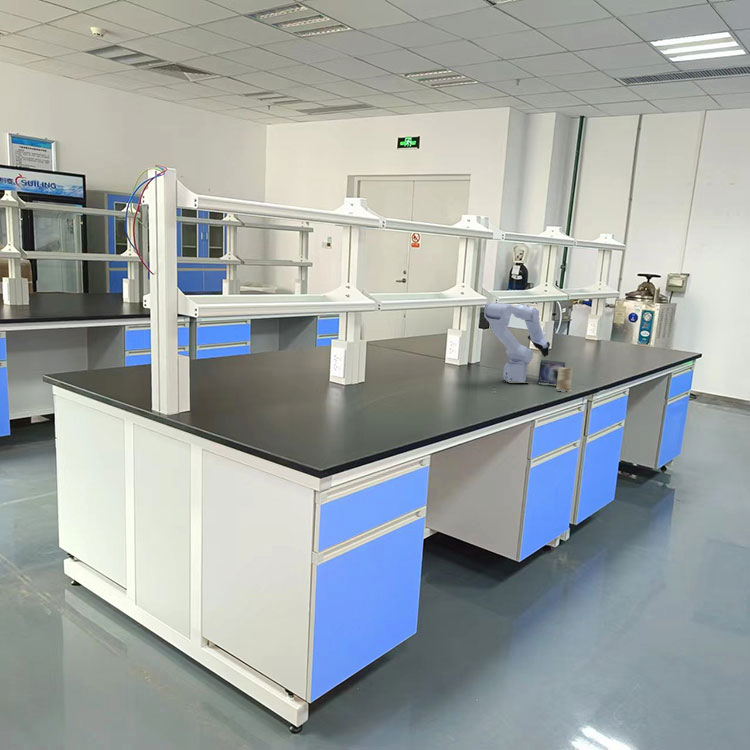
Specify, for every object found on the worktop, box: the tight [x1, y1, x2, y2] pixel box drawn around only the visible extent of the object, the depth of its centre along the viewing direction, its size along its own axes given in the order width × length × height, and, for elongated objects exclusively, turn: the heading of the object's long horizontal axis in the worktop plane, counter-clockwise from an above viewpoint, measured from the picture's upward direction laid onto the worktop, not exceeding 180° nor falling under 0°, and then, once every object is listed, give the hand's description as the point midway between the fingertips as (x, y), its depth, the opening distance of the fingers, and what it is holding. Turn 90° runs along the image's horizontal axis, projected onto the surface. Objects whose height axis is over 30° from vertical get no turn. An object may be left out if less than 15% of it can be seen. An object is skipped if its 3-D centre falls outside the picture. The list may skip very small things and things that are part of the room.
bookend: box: [555, 367, 574, 392], centre depth 274 cm, size 6×3×10 cm, turn 103°
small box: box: [537, 359, 566, 385], centre depth 287 cm, size 11×6×10 cm, turn 73°
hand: (542, 351), depth 299 cm, fingers open, 7 cm apart
